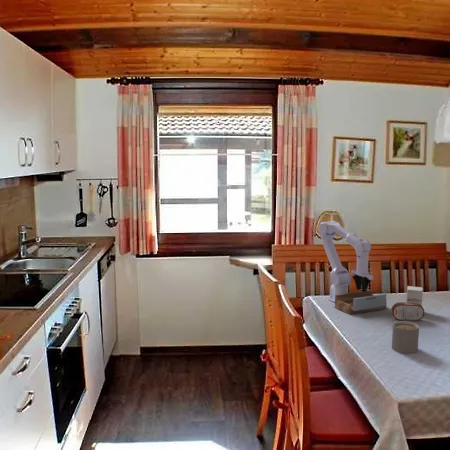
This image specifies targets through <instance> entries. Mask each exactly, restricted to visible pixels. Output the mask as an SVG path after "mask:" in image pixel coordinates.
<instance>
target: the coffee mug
mask: <svg viewBox="0 0 450 450" xmlns="http://www.w3.org/2000/svg"><path fill="white" fill-rule="evenodd" d="M419 333H420V326H419V324H417V323H414V322H411V321H406V320H398V321H395V322H393V323H392V335H391V336H392V337H391V340H392V341H391V349H392V350H393V351H395V352H397V353H400V354H405V353H406V354H409V355H410V354H411V355H413V354H416V353H417V352H418V351H419V335H420V334H419ZM406 354H405V355H406Z"/></svg>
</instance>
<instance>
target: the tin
mask: <svg viewBox="0 0 450 450" xmlns="http://www.w3.org/2000/svg"><path fill="white" fill-rule="evenodd" d="M390 312H391V315H392V316H393V318H394V319H396V320H398V321H407V322H411V321H413V322H414V321H415V322H418V321H420V320H422V319H423V318H424V316H425V309H424V307H423V305H422V306H421V305H420V304H418V303H406V302H404V301H402V302H396V303H394V304H393V305H392V306H391V309H390Z"/></svg>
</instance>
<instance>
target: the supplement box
mask: <svg viewBox="0 0 450 450" xmlns="http://www.w3.org/2000/svg"><path fill="white" fill-rule="evenodd" d="M406 287H407V288H406V302H405V303H418V304H420V305H421V306H422V307H423V295H424V294H423V292H424V291H423V290H424V288H423V287H420V286H411V285H407V286H406Z"/></svg>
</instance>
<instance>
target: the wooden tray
mask: <svg viewBox="0 0 450 450" xmlns="http://www.w3.org/2000/svg"><path fill="white" fill-rule="evenodd" d="M373 293H374V289H367V290H366V292H362V290H360V291H359V290H358V291H352V292H348V293H344V294H338V295H335V302H334V309H336V310H339V311H341V312H343V313H345V314H347V315H354V314H355V315H356V314H359V313H360V314H361V313H367V312H371V311H378V310H384V309H387V305H386V306H382V307H376V308H370V309H364V310H358V311H353V299H354V298H360V297H367V296H373V295H374V294H373ZM386 303H387V299H386Z"/></svg>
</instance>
